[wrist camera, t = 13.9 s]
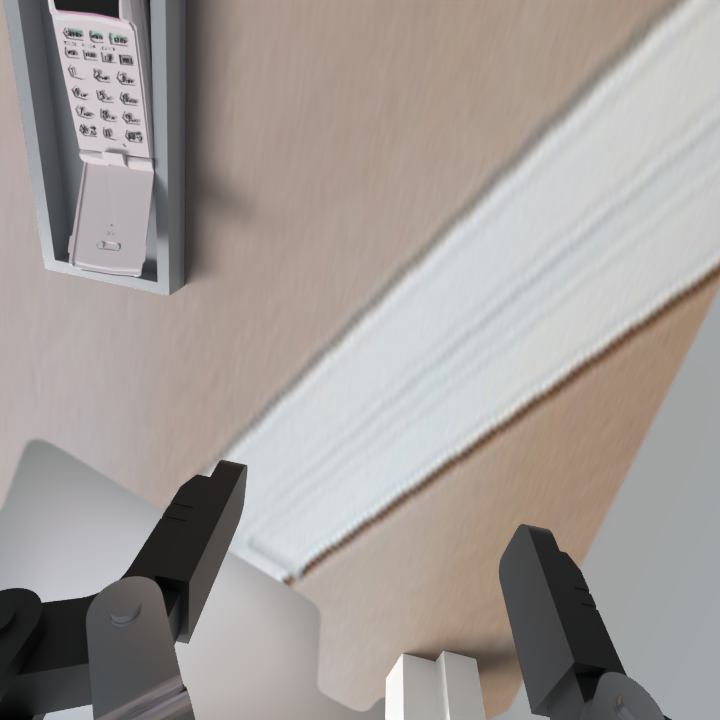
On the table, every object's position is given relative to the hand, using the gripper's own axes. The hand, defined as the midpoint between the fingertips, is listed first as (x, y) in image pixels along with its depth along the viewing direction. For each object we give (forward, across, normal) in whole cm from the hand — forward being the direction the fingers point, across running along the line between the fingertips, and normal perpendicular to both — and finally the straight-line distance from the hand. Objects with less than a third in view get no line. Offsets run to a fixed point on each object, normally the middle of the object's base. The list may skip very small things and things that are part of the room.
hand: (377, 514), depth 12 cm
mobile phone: (+27, +23, -9) cm, 36 cm away
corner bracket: (+28, -21, +61) cm, 71 cm away
